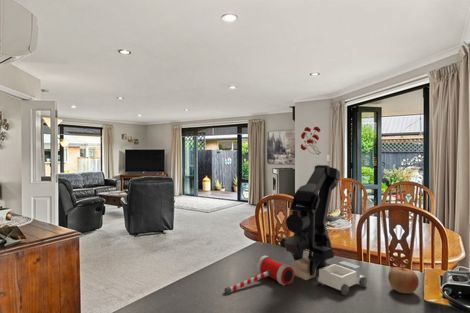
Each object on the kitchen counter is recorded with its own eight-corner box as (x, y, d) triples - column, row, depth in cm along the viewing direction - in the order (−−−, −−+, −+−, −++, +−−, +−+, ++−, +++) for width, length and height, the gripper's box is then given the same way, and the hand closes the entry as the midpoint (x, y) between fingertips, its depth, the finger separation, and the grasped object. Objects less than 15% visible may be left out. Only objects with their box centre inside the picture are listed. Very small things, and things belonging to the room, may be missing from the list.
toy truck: (339, 275, 103) (339, 259, 103) (366, 285, 96) (367, 267, 96) (315, 285, 95) (315, 267, 95) (343, 296, 88) (343, 277, 88)
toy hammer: (238, 303, 84) (238, 280, 84) (215, 287, 93) (215, 267, 93) (294, 283, 97) (295, 263, 97) (269, 271, 107) (270, 253, 107)
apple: (381, 288, 94) (382, 262, 94) (399, 284, 97) (400, 259, 97) (405, 299, 87) (405, 271, 87) (424, 295, 90) (424, 268, 90)
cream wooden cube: (304, 272, 106) (304, 257, 106) (315, 276, 102) (316, 261, 102) (294, 275, 103) (294, 260, 103) (306, 280, 99) (306, 264, 99)
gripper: (269, 224, 105) (268, 269, 105) (313, 236, 90) (312, 288, 90) (291, 220, 112) (290, 263, 112) (335, 231, 97) (334, 279, 97)
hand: (305, 272), depth 102 cm, fingers closed on cream wooden cube, 5 cm apart
